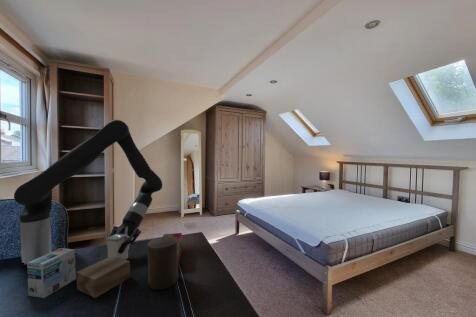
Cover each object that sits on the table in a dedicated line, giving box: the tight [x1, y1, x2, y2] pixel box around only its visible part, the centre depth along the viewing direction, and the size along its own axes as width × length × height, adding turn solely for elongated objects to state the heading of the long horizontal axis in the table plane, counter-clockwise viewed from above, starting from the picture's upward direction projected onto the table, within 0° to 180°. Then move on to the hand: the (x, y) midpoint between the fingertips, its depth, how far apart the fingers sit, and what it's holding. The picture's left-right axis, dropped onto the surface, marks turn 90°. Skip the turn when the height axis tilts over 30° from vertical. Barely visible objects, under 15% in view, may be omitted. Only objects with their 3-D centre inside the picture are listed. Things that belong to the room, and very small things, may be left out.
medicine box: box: [162, 232, 183, 264], centre depth 88 cm, size 15×8×8 cm, turn 9°
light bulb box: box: [26, 247, 77, 299], centre depth 70 cm, size 11×7×11 cm, turn 168°
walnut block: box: [75, 256, 131, 299], centre depth 72 cm, size 10×12×6 cm
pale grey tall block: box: [106, 234, 129, 260], centre depth 87 cm, size 5×5×10 cm
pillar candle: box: [146, 236, 179, 291], centre depth 72 cm, size 10×10×15 cm
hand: (114, 251), depth 86 cm, fingers closed on pale grey tall block, 5 cm apart
